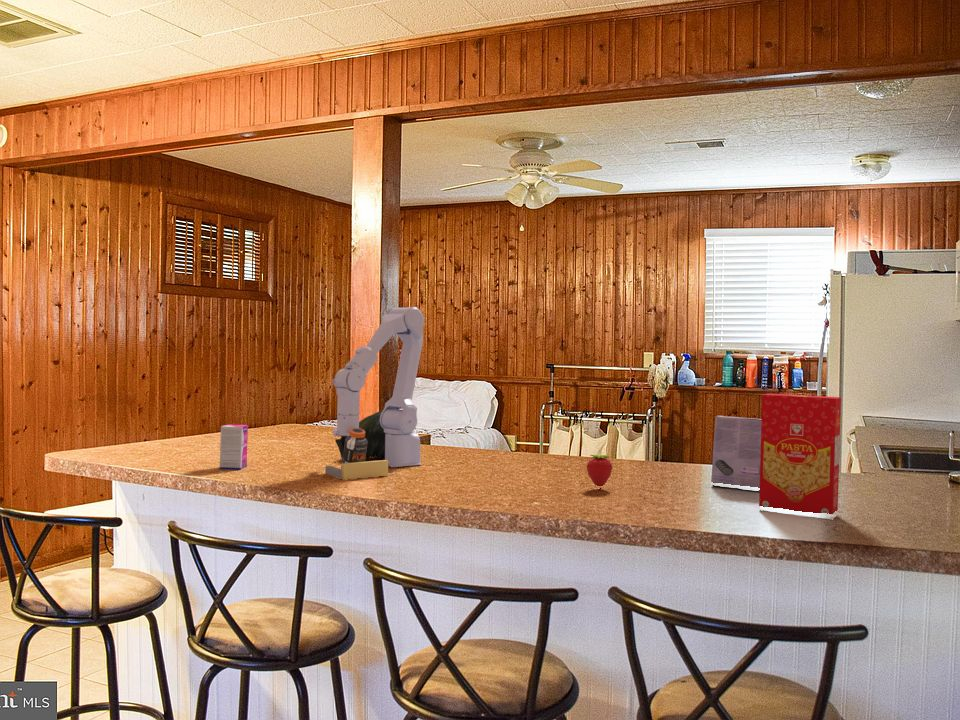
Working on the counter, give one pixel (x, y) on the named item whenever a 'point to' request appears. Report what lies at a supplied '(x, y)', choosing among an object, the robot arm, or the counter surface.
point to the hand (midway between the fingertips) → (347, 465)
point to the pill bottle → (355, 447)
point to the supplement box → (233, 447)
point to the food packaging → (800, 452)
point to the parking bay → (359, 470)
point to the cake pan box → (737, 451)
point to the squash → (374, 435)
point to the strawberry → (599, 469)
